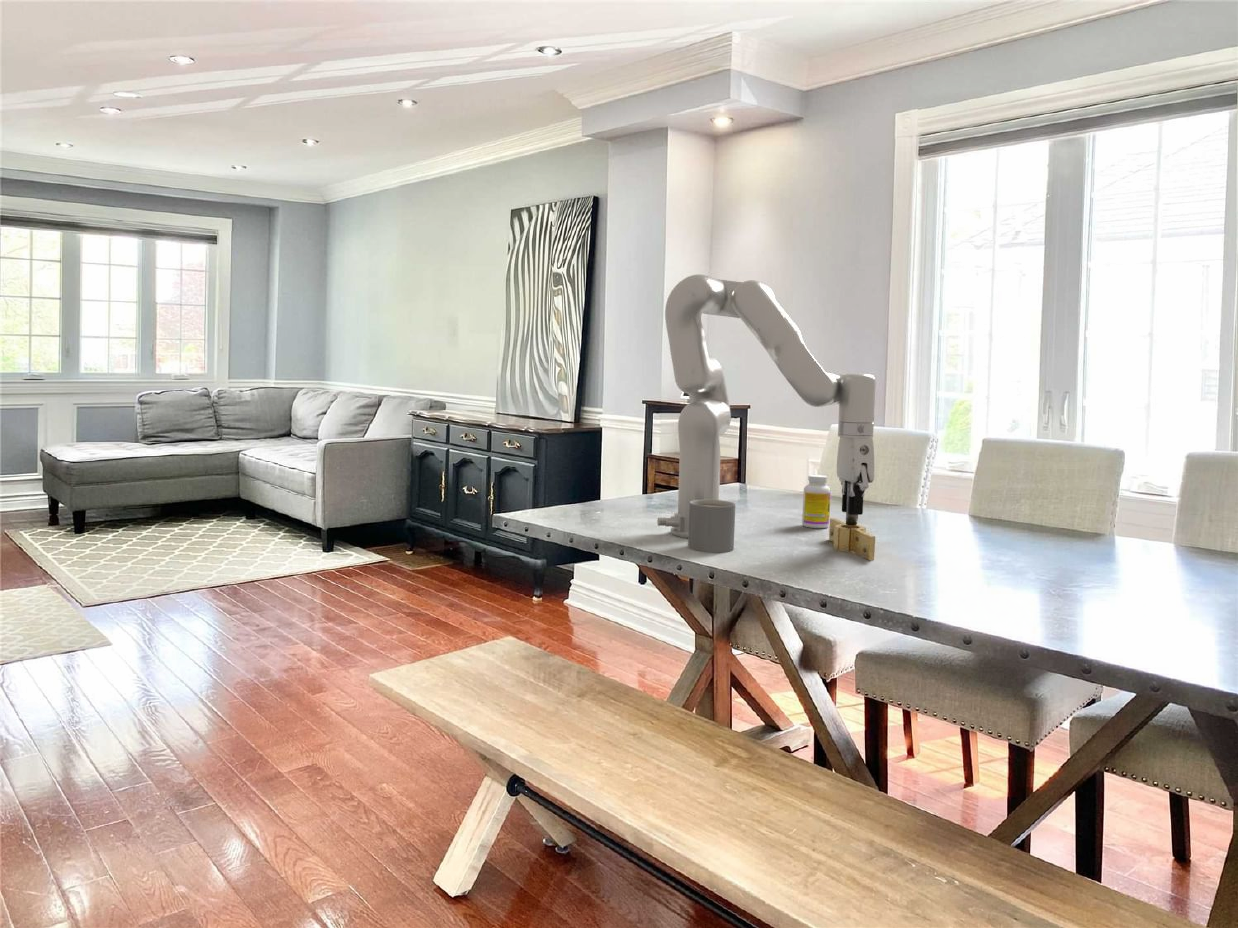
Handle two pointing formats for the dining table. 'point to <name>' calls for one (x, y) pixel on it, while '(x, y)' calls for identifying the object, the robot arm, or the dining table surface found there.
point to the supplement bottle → (816, 502)
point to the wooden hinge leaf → (832, 525)
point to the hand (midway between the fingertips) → (852, 512)
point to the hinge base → (854, 540)
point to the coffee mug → (711, 526)
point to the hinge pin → (849, 518)
